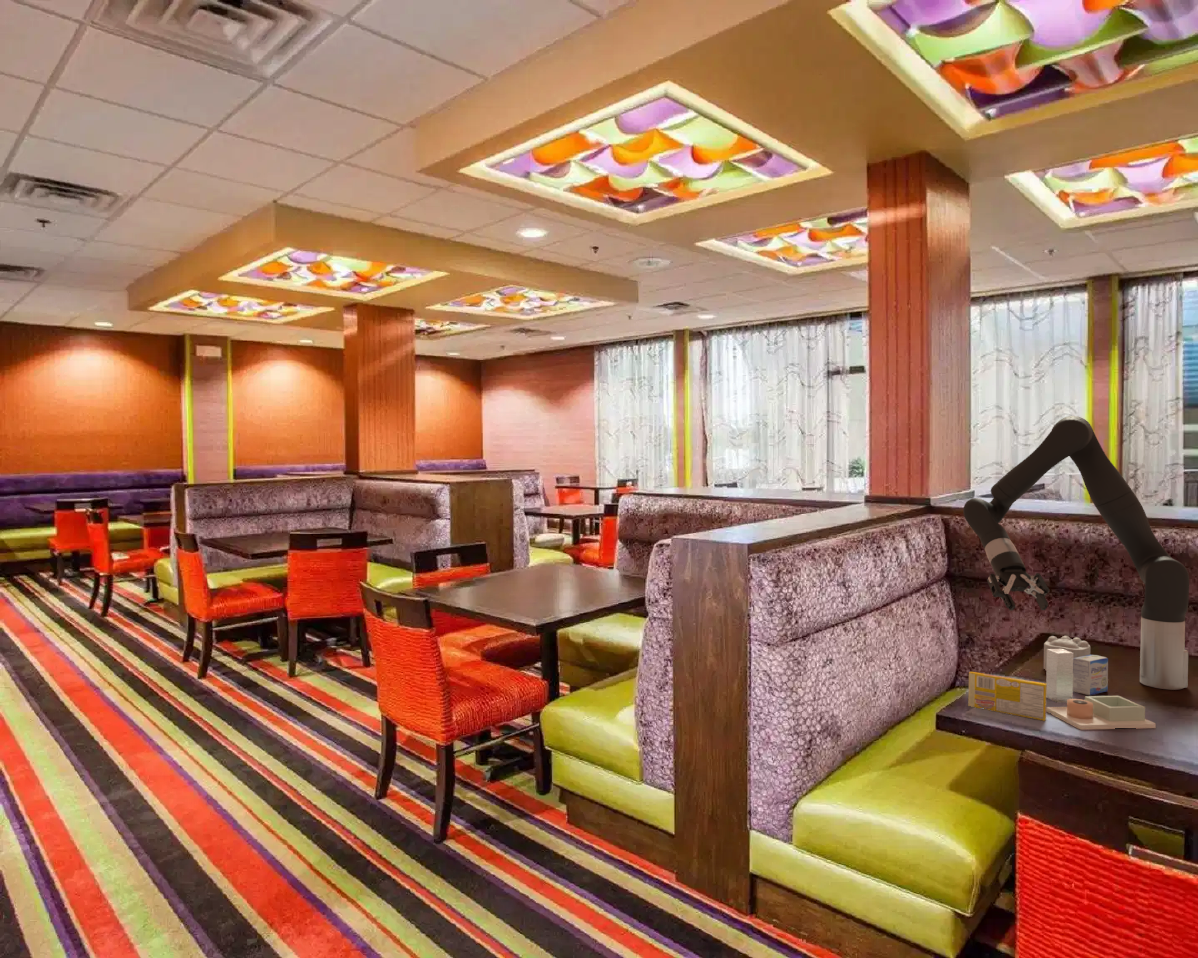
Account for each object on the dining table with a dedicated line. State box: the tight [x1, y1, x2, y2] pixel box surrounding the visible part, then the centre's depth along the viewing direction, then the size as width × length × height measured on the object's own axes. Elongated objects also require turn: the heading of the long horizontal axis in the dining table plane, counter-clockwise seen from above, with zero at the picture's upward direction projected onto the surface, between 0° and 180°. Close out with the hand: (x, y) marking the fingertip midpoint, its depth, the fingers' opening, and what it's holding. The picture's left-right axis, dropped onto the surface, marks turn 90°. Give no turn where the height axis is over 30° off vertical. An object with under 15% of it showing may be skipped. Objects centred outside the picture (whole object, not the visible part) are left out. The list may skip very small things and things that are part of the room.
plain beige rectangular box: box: [1045, 649, 1074, 704], centre depth 189 cm, size 4×4×12 cm
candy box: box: [967, 671, 1047, 722], centre depth 180 cm, size 16×2×8 cm, turn 50°
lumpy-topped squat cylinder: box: [1043, 635, 1091, 671], centre depth 216 cm, size 10×13×9 cm
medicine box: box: [1073, 654, 1109, 696], centre depth 196 cm, size 8×4×9 cm, turn 117°
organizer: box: [1046, 695, 1157, 731], centre depth 175 cm, size 17×12×4 cm
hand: (1029, 608), depth 201 cm, fingers open, 8 cm apart
